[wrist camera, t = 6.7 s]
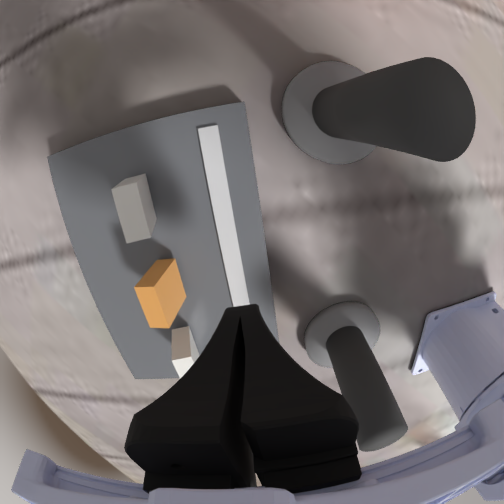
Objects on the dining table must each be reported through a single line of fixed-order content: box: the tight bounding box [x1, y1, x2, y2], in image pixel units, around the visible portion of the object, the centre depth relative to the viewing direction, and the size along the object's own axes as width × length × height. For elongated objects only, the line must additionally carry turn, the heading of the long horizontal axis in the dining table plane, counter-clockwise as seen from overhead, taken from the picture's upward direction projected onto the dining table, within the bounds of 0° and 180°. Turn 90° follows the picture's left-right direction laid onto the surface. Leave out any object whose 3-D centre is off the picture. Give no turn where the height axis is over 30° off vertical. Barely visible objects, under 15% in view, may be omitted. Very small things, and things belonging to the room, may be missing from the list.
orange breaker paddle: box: [134, 258, 186, 328], centre depth 15 cm, size 1×3×3 cm, turn 8°
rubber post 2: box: [304, 302, 408, 452], centre depth 17 cm, size 6×6×10 cm
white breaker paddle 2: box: [172, 326, 199, 379], centre depth 18 cm, size 1×3×3 cm, turn 9°
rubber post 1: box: [282, 57, 476, 164], centre depth 10 cm, size 6×6×10 cm
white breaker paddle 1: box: [111, 173, 157, 243], centre depth 13 cm, size 1×3×3 cm, turn 8°
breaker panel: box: [47, 102, 279, 379], centre depth 18 cm, size 12×18×2 cm, turn 8°
